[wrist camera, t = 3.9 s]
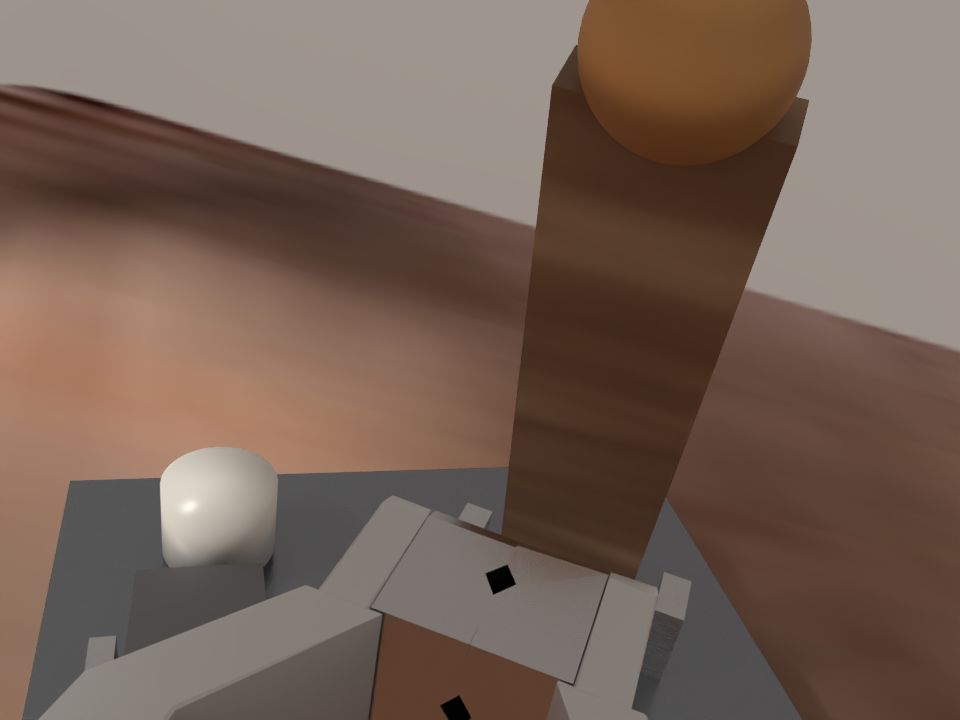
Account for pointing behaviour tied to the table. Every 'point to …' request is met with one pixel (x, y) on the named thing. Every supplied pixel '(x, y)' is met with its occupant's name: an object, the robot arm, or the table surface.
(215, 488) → the button
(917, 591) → the table surface
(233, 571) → the block
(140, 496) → the panel
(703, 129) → the lever
